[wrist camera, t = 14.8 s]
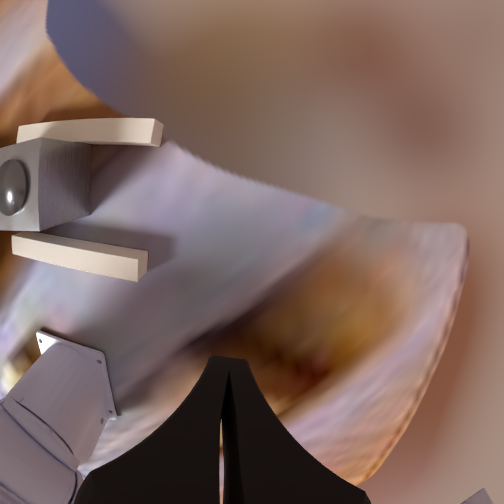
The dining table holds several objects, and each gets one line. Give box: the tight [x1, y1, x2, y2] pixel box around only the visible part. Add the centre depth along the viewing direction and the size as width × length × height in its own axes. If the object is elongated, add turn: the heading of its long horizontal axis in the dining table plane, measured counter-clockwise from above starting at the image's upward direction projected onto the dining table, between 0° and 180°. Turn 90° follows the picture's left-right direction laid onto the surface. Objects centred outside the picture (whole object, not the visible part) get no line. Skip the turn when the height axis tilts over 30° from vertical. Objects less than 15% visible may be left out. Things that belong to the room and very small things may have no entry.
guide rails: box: [11, 118, 164, 282], centre depth 15 cm, size 10×12×2 cm
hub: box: [0, 137, 92, 231], centre depth 13 cm, size 5×5×6 cm
